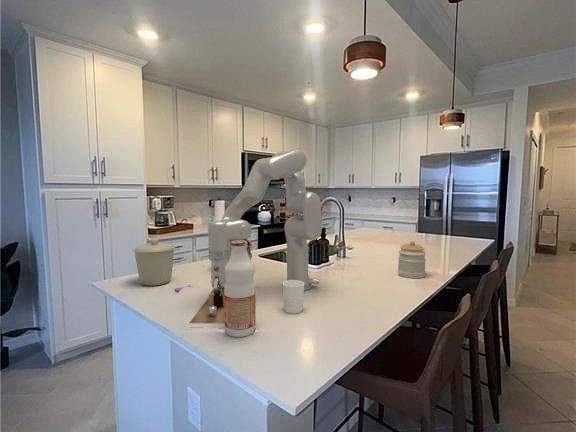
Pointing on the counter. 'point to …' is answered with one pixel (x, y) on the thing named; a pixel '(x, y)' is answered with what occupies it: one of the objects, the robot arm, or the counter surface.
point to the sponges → (181, 288)
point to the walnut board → (203, 315)
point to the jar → (411, 261)
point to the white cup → (293, 296)
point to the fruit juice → (239, 292)
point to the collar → (211, 300)
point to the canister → (154, 262)
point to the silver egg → (212, 311)
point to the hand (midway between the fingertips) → (220, 302)
